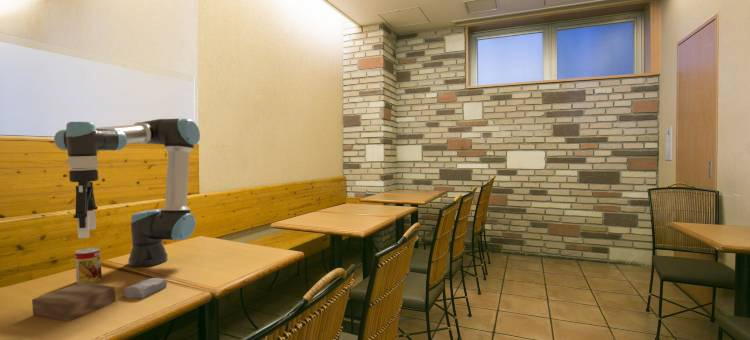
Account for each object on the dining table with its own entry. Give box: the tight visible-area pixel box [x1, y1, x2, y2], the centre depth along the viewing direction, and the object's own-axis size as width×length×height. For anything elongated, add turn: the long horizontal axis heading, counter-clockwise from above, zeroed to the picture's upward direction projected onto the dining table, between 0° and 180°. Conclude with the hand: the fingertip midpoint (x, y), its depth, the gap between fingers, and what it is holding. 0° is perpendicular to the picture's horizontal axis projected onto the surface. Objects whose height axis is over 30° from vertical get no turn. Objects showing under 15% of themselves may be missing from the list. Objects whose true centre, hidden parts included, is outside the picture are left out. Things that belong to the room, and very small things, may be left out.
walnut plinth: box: [31, 283, 116, 322], centre depth 123 cm, size 15×15×5 cm
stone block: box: [122, 277, 168, 299], centre depth 136 cm, size 12×5×10 cm
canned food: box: [74, 247, 103, 284], centre depth 148 cm, size 8×8×12 cm
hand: (87, 233), depth 126 cm, fingers open, 13 cm apart
